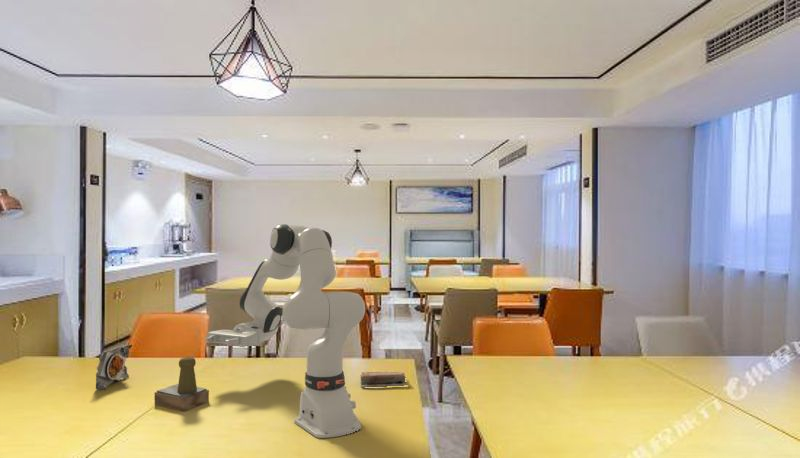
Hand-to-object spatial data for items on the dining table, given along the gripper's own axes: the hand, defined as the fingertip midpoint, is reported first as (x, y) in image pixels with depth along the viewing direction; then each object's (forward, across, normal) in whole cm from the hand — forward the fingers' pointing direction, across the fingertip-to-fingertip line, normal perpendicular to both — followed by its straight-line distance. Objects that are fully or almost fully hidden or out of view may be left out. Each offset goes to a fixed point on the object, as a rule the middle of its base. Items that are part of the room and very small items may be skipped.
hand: (216, 341), depth 180 cm
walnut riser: (+14, -1, +18) cm, 23 cm away
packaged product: (-34, +50, +19) cm, 64 cm away
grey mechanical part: (+11, -41, +18) cm, 46 cm away
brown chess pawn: (+14, +1, +14) cm, 20 cm away
